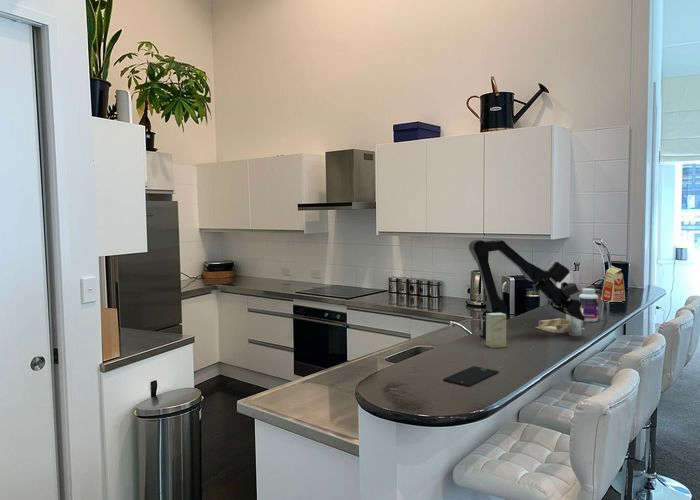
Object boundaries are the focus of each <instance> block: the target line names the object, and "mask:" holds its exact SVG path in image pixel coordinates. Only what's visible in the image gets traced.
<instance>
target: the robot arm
mask: <svg viewBox="0 0 700 500" xmlns="http://www.w3.org/2000/svg"><path fill="white" fill-rule="evenodd" d="M468 250H469V252H470V255H471V256H472V258H473V260H474V261H475V263H476V265H477V267H478V271H479V274H480V279H481V282H482V285H483V288H484V291H485V296H486V302H485V306H486V310H485V311H483V313H482V314H481V319H482V320H483V321H482V334H480V335H479V336H480V337H481V338H484V339H486V313H503V314H506V315H507V310H508V307H507V305H506V300H505V299H504V298H502V297H500V296H499V294H498V292H497V286H496V284H495V281H494V277H493V274H492V270H491V266H490V262H489V256H490V254H489V253H490V252H496V251H498V252H499V253H500V254H501V255H502V256H504V257H505V258H507V260H509V261H510V262H511V263H512V264H513V265H515V266H516V267H517V269H518V270H519V271H520V273H521V275H523V276H524V278H525V279H526V280H527V281H529V282H532V283H536V284H532V292H535V293H537V292H541V293H542V294H543V295H544V296H545V299H547V305H548V306H549V308H552V309H553V310H556V311H558V312H561V313H562V314H565V315H566V314H567V315H571V316H573V317H575V318H577V319H580V320H582V321H583V322H585V321H584V320H585V318H584V316H583V314H582V313H581V311H580V307H581V305H582V303H581V302H580V301H579V299H576V298H571V296H572V295H574V294H575V293H578V292H580V289H579V288H578V285H577V284H576V283H573V282H568V283H567V282H566V281H564V279H566V278H567V276H568V275H569V274H571V271H570V269H568V268H567V267H566V266H564V265H563V264H561V263H560V262H559V261H555V262H554V263H553V264H552V265H551V267H550V268H549V269H547V270H544V269H542V268H540V267H538V266H536V265H535V264H532V263H531V262H529V261H527V260H526V259H525V258H523V256H521V255H520V254H519V252H516V251H515V250H514V249H513V248H512V247H511V246H510V245H508V244H507V243H506V241H504V240H501V239H496V240H488V241H487V240H481V239H474V240H471V242H469V245H468ZM562 281H564V282H562ZM561 282H562V283H561ZM556 283H559V284H561V285H560V287H558V286H557V285H556ZM569 299H570V300H569Z"/></svg>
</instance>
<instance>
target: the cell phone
mask: <svg viewBox="0 0 700 500" xmlns="http://www.w3.org/2000/svg"><path fill="white" fill-rule="evenodd" d="M499 372H500V371H499V370H496V369H490V368H486V367H481V366H477V365H476V366H475V365H473V366H470V367H468V368H466V369H463V370H460V371H458V372H456V373H453V374H451V375H449V376H447V377H445V378H443V379H442V381H443V382H446V383H450V384H454V385H458V386H459V385H460V386H462V387H468V388H469V387H473V386H475V385H476V384H478V383H481V382H483V381H485V380H487V379H489V378H491V377H493V376H495V375H498V374H499Z"/></svg>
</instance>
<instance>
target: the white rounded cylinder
mask: <svg viewBox="0 0 700 500" xmlns="http://www.w3.org/2000/svg"><path fill="white" fill-rule="evenodd" d="M582 314H583V308H582ZM565 319H566V320H569V315H567V314H565ZM581 323H582V326H583V325H584V321H582V320H581Z"/></svg>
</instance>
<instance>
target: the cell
mask: <svg viewBox="0 0 700 500" xmlns="http://www.w3.org/2000/svg"><path fill="white" fill-rule="evenodd" d="M580 311H581V313H582V305H581V307H580ZM568 336H572V337H581V336H582V330H581V320H580V319H577V318H575V317H573V316H571V315H569V332H568Z"/></svg>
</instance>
